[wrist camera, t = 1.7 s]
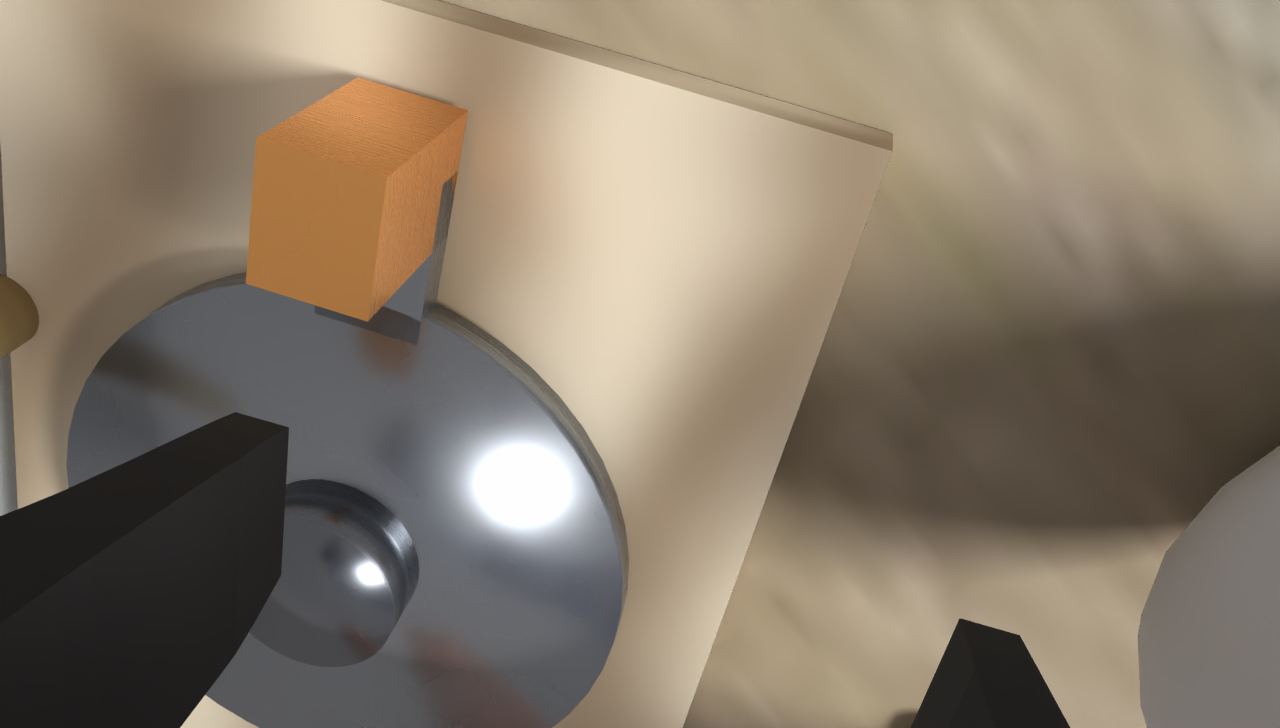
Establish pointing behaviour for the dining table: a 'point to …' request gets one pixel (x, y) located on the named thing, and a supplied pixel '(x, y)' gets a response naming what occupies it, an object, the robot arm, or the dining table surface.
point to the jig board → (459, 250)
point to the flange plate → (380, 445)
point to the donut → (1218, 613)
